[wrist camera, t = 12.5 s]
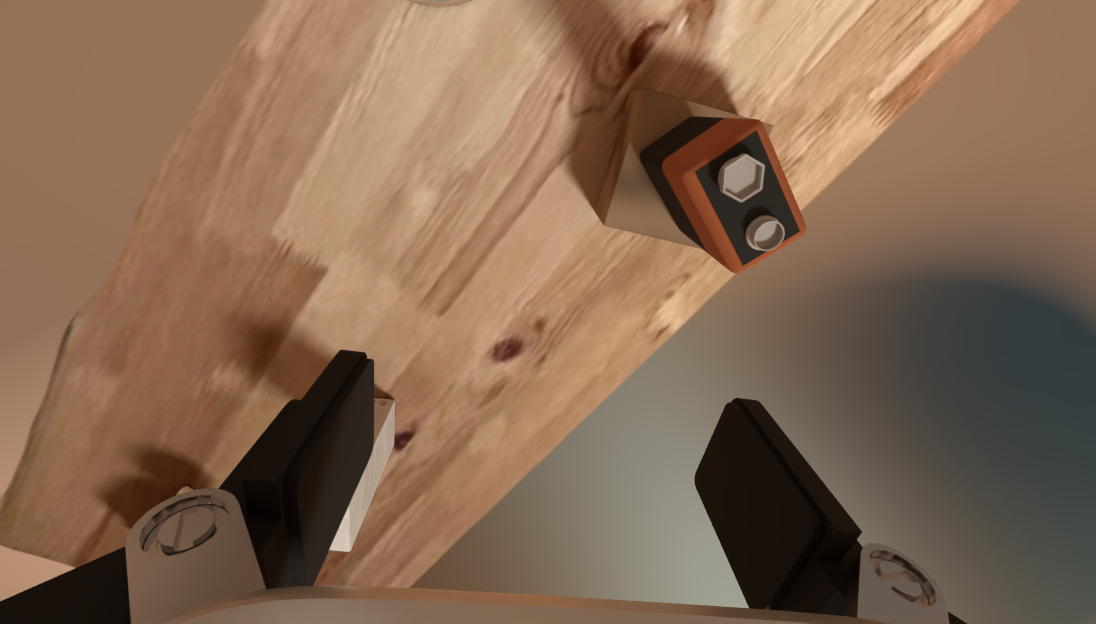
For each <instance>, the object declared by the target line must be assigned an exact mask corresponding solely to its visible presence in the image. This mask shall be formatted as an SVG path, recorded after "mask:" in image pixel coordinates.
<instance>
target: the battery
mask: <svg viewBox="0 0 1096 624" xmlns="http://www.w3.org/2000/svg"><path fill="white" fill-rule="evenodd" d="M640 161H641V163H642V164H643V166H644V168H645V170H646V172H647V173H648V175H649V177H650V179H651V180H652V182H653V184H654V186H655V187H656V189H657V191H658V193H659V195H660V196H661V198H662V200H663V202H664V203H665V205H666V207H667V209H668V211H669V212H670V214H671V216H672V218H673V219H674V221H675V223H676V225H677V226H678V228H679V230H680V231H681V232H682V233H683V234H685V235H686V236H687V237H688V238H690V239H691V240H692V241H693V242H695V243H696V244H697V245H698V246H700V247H701V248H702V249H703V250H705V251H706V252H707V253H708V254H710V255H711V256H712V257H713V258H715V259H716V260H717V261H718V262H720V263H721V264H722V265H723V266H725V267H726V268H727V269H728V270H730V271H731V272H733V273H740V272H743V271H744V270H746V269H748V268H749V267H751V266H753V265H754V264H756V263H758V262H759V261H761V260H763V259H764V258H766V257H768V256H769V255H771V254H773V253H774V252H776V251H778V250H779V249H781V248H782V247H784V246H786V245H788V244H789V243H791V242H793V241H794V240H796V239H798V238H799V237H801V236H802V235H803V234H804V233H805V232H806V225H805V222H804V220H803V217H802V215H801V212H800V210H799V208H798V205H797V203H796V200H795V198H794V196H793V193H792V191H791V189H790V186H789V184H788V181H787V179H786V177H785V174H784V172H783V170H782V167H781V165H780V162H779V160H778V158H777V155H776V153H775V151H774V148H773V146H772V143H771V141H770V139H769V136H768V134H767V132H766V129H765V127H764V125H763V123H762V122H761V121H759V120H756V119H741V118H719V117H698V116H691V117H689V118H687V119H686V120H684V121H683V122H682V123H680V124H679V125H677V126H676V127H675V128H673V129H672V130H670V131H669V132H667V133H666V134H665V135H663V136H662V137H660V138H659V139H658V140H656V141H655V142H653V143H652V144H650V145H649V146H648V147H646V148H645V149H643V150H642V151H641V153H640Z"/></svg>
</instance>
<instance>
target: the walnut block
mask: <svg viewBox="0 0 1096 624" xmlns="http://www.w3.org/2000/svg"><path fill="white" fill-rule="evenodd" d="M691 116H698V117H719V118H741V119H749V118H746V117H743V116H739V115H736V114H732V113H729V112H726V111H722V110H719V109H715V108H712V107H708V106H705V105H702V104H698V103H695V102H691V101H688V100H684V99H681V98H678V97H674V96H671V95H667V94H664V93H660V92H657V91H654V90H650V89H647V88H644V89H639V90H633V91H630V93H629V96H628V100H627V103H626V107H625V110H624V114H623V117H622V120H621V124H620V127H619V131H618V134H617V137H616V141H615V144H614V148H613V151H612V155H611V158H610V161H609V165H608V168H607V172H606V175H605V179H604V182H603V185H602V189H601V192H600V196H599V199H598V203H597V206H596V209H595V213H596V214H597V216H598V217H599V219H600V220H601V222H602V223H603V225H604V226H608V227H612V228H617V229H621V230H625V231H629V232H633V233H637V234H642V235H646V236H650V237H654V238H658V239H663V240H667V241H671V242H675V243H679V244H683V245H688V246H692V247H696V248H700V249H702V248H701V247H700V246H698V245H697V244H696V243H695V242H693V241H692V240H691V239H690V238H688V237H687V236H686V235H685V234H683V233H682V232H681V231H680V230H679V228H678V226H677V225H676V223H675V221H674V219H673V218H672V216H671V214H670V212H669V211H668V209H667V207H666V205H665V203H664V202H663V200H662V198H661V196H660V195H659V193H658V191H657V189H656V187H655V186H654V184H653V182H652V180H651V179H650V177H649V175H648V173H647V172H646V170H645V168H644V166H643V164H642V163H641V161H640V153H641V151H642V150H643V149H645V148H646V147H648V146H649V145H650V144H652V143H653V142H655V141H656V140H658V139H659V138H660V137H662V136H663V135H665V134H666V133H667V132H669V131H670V130H672V129H673V128H675V127H676V126H677V125H679V124H680V123H682V122H683V121H684V120H686V119H687V118H689V117H691ZM762 123H763V122H762ZM763 125H764V127H765V129H766V132H767V134H768V136H769V134H770V132H771V129H772V127H773V125H770V124H767V123H763Z"/></svg>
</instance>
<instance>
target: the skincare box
mask: <svg viewBox="0 0 1096 624" xmlns="http://www.w3.org/2000/svg"><path fill="white" fill-rule="evenodd" d="M394 411H395V400H392V399H383V398H374V446H373V451H372V454H371V457H370V459H369V462H368V464H367V466H366V468H365V471H364V473H363V475H362V477H361V480H360V482H359V484H358V486H357V489H356V491H355V493H354V495H353V498H352V500H351V502H350V504H349V506H348V509H347V511H346V513H345V515H344V518H343V520H342V522H341V524H340V527H339V529H338V531H337V533H336V536H335V538H334V540H333V542H332V545H331V547H330V549H329V550H335V551H346V552H349V551H351V549H352V546H353V544H354V541H355V539H356V536H357V534H358V531H359V529H360V527H361V524H362V522H363V519H364V517H365V514H366V512H367V510H368V507H369V505H370V502H371V500H372V497H373V495H374V492H375V490H376V487H377V485H378V482H379V480H380V477H381V475H382V472H383V470H384V467H385V465H386V463H387V460H388V458H389V455H390V453H391V450H392V448H393V446H394Z"/></svg>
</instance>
